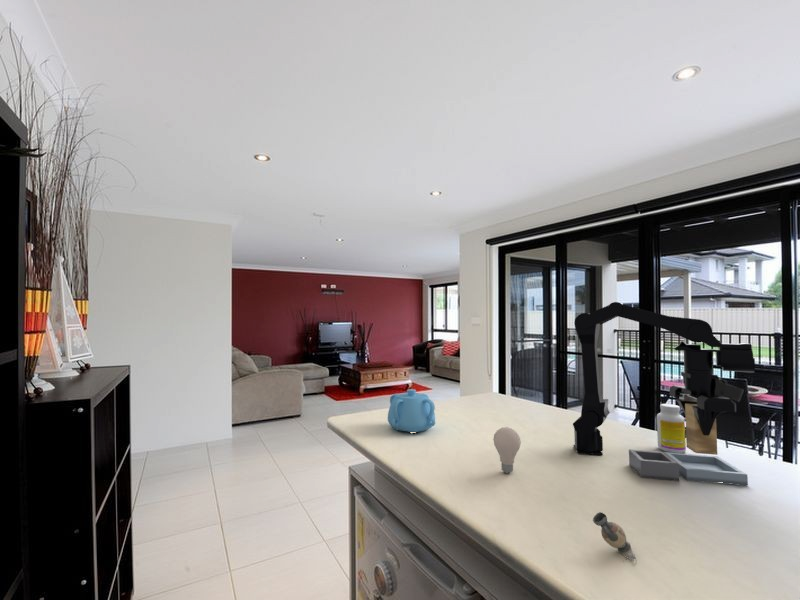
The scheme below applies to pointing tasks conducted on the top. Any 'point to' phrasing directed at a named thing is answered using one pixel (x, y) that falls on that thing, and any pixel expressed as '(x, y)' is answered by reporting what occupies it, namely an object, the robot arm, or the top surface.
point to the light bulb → (507, 447)
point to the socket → (654, 465)
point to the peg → (699, 434)
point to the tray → (708, 469)
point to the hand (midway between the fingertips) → (700, 432)
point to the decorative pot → (411, 411)
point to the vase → (614, 535)
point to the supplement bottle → (671, 429)
